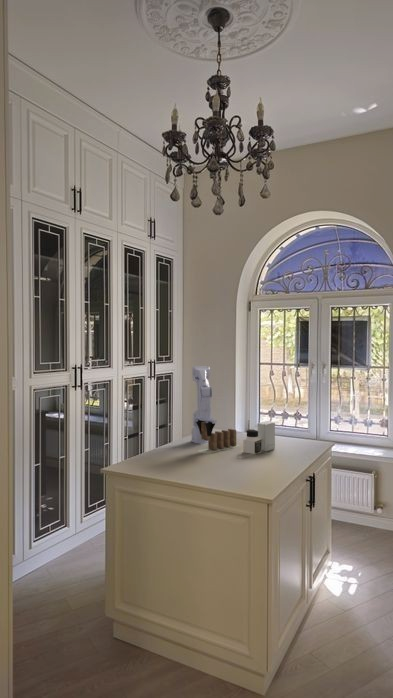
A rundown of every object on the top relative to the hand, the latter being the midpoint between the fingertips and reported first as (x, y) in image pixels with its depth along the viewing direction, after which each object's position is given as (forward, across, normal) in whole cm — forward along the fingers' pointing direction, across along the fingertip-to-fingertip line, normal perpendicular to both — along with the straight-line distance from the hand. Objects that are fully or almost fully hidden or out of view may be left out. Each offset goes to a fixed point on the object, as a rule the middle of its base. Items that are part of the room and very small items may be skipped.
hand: (205, 435), depth 244 cm
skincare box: (+9, +18, +28) cm, 35 cm away
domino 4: (+9, 0, +20) cm, 22 cm away
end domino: (+2, 0, 0) cm, 2 cm away
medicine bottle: (+9, +17, +18) cm, 26 cm away
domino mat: (+9, 0, +10) cm, 13 cm away
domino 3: (+9, 0, +15) cm, 17 cm away
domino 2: (+9, 0, +10) cm, 13 cm away
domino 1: (+9, 0, +5) cm, 10 cm away
